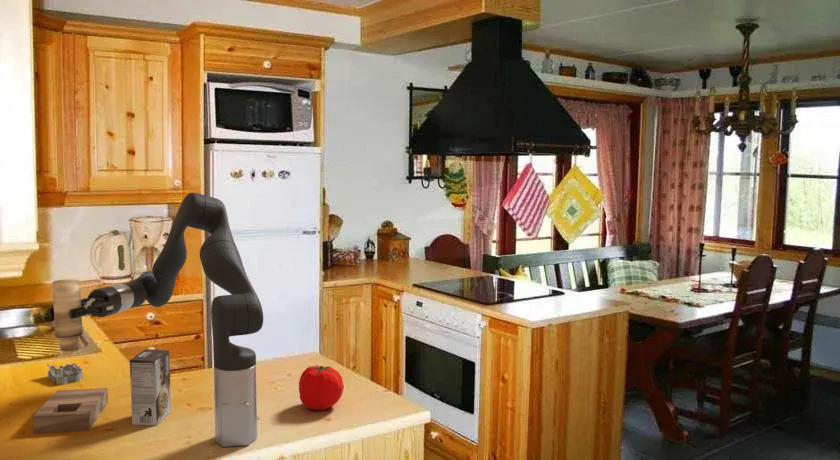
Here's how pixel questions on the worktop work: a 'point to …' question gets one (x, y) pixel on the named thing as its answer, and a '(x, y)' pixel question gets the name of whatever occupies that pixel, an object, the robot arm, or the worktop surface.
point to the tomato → (320, 387)
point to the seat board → (70, 410)
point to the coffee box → (150, 387)
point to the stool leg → (67, 313)
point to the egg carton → (65, 373)
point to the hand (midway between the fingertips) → (60, 313)
